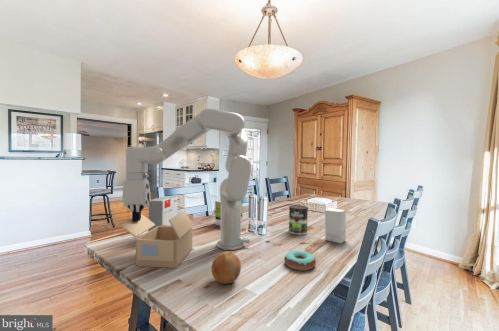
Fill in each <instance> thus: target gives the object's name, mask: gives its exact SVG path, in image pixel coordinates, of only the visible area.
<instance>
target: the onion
mask: <svg viewBox="0 0 499 331" xmlns="http://www.w3.org/2000/svg"><path fill="white" fill-rule="evenodd" d="M241 268H242V265H241V260H240V259H239V257H238V255H237V254H235V253H234V252H232V251H231V250H225V251H223V252H222V253H219V254H218V255H216V256H215V258H214V259H213V261H212V263H211V274H212V277H213V278H214V280H215V281H216V282H218V283H219V284H223V285H229V284H231V283H234V282H235V281H237V279H238V278H239V276H240V274H241V270H242V269H241Z"/></svg>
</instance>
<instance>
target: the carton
mask: <svg viewBox="0 0 499 331" xmlns="http://www.w3.org/2000/svg"><path fill="white" fill-rule="evenodd" d="M192 251H193V227H192V228H191V229H190V230H189V231H188V232H187V233H185V234H184V235H183V236H182V237H181V238H180V239H179V238H178V236H177V234H176V233H175V231H174V229H173V227H172V225H160V226H157V227H155V228H154V229H152V230H150V231H149V232H148V231H146V232H145V233H144V234H142V235H141V236H138V237H137V238H135V266H136V267H150V268H151V267H155V268H171V269H173V268H174V269H177V268H178V267H179V266H180V265H181V264H182V263H183V262H184V260H185V259H186V258H187V256H188V255H189V254H190V253H191V252H192Z"/></svg>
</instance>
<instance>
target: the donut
mask: <svg viewBox="0 0 499 331" xmlns="http://www.w3.org/2000/svg"><path fill="white" fill-rule="evenodd" d="M283 260H284V262H285V263H284V264H285V265H286V266H287V267H289V268H290V269H293V270H297V271H309V270H312V269H313V268H314V267H315V266H316V263H317V262H316V258H315V256H314V255H313V254H311V253H310V252H307V251H303V250H291V251H288V252H287V253H286V254H285V255H284V259H283Z"/></svg>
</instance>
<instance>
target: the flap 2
mask: <svg viewBox="0 0 499 331" xmlns="http://www.w3.org/2000/svg"><path fill="white" fill-rule="evenodd" d="M169 222H170V224H171V225H172V227H173V229H174V231H175V233H176V234H177V236H178V238H179V239H180V238H181V237H182V236H183V235H184V234H185V233H187V232H188V231H189V230H190V229H191V228H192V229H193V228H194V224H193V223H192V221H191V218H190V217H189V214H188V213H187V212H186V210H182V211H181V212H180V213H177V215H176V216H175V217H173V218H171V219H170V220H169Z"/></svg>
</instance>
